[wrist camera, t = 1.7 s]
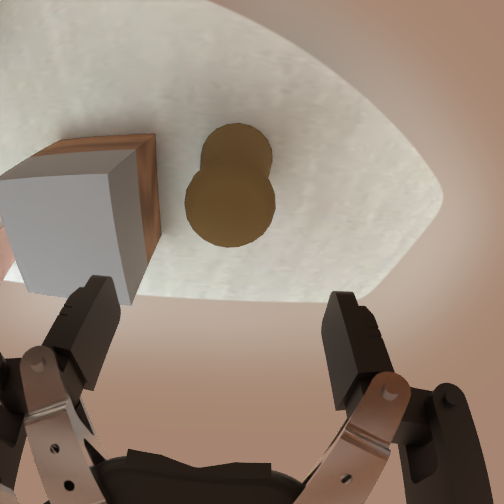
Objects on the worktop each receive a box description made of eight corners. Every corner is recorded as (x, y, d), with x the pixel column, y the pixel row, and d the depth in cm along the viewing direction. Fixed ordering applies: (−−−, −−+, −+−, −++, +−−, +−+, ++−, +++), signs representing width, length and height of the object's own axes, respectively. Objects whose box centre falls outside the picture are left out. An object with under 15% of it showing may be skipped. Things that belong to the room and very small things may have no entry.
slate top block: (29, 157, 19) (-8, 181, 15) (135, 149, 20) (107, 173, 16) (53, 258, 25) (28, 292, 21) (147, 265, 25) (131, 305, 21)
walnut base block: (59, 140, 24) (29, 157, 19) (155, 133, 24) (135, 149, 20) (74, 231, 29) (53, 258, 25) (161, 234, 30) (147, 265, 25)
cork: (248, 109, 23) (246, 139, 14) (285, 169, 26) (305, 234, 17) (187, 147, 25) (149, 201, 16) (226, 201, 28) (214, 279, 19)
